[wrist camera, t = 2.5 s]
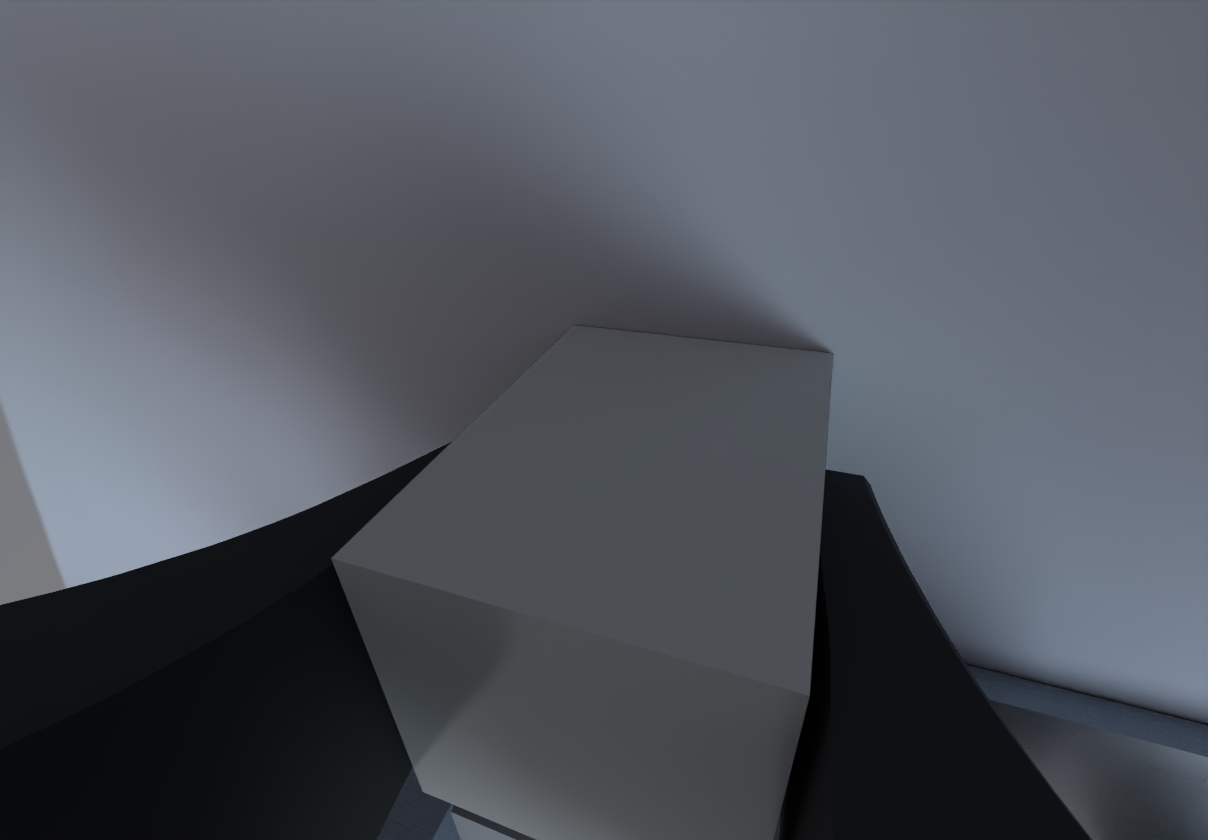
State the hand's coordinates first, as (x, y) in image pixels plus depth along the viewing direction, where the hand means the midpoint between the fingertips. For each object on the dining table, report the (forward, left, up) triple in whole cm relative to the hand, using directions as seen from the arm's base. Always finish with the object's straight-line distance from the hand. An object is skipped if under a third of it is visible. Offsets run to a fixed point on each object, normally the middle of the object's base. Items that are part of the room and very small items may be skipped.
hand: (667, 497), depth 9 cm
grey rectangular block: (0, 0, -1) cm, 1 cm away
